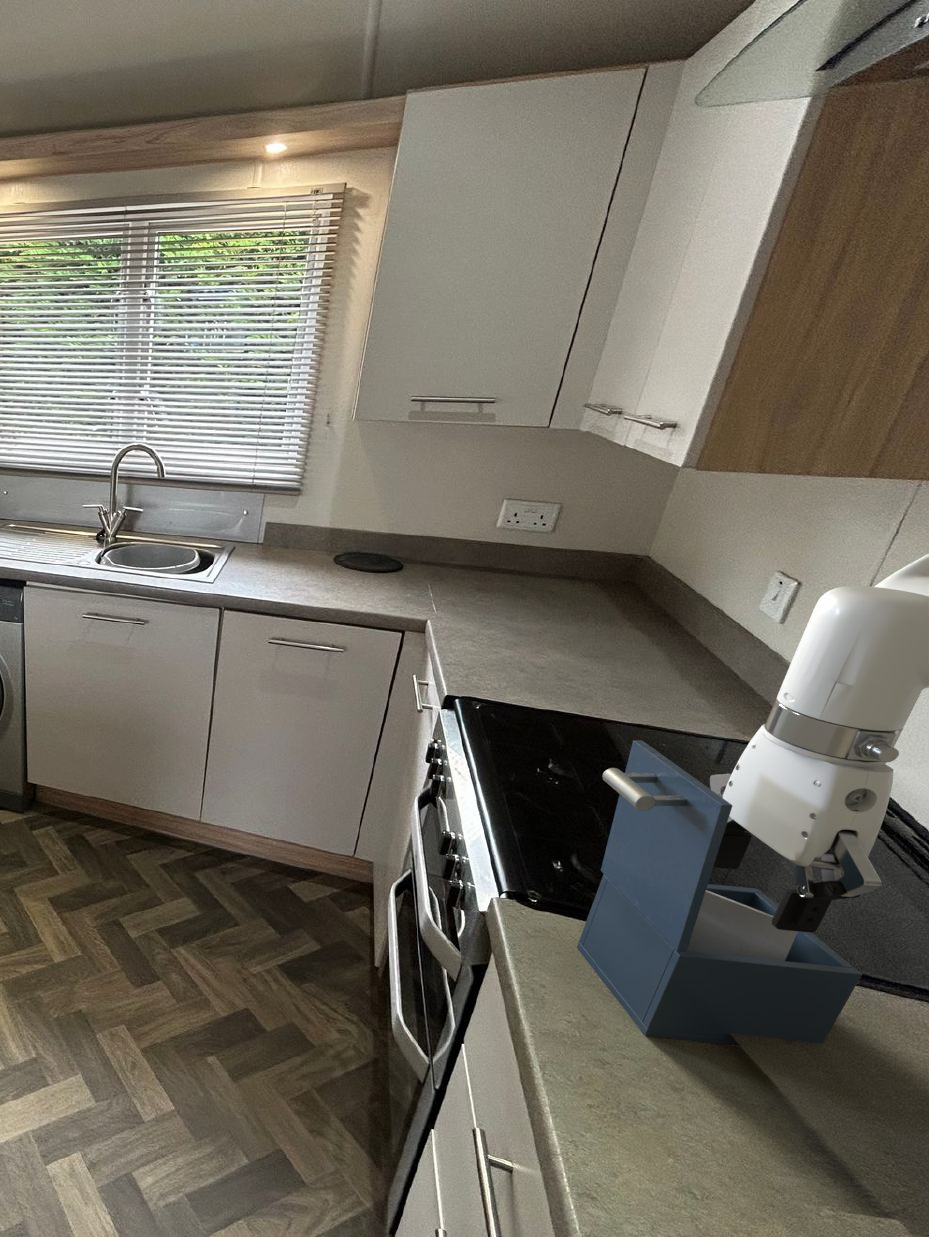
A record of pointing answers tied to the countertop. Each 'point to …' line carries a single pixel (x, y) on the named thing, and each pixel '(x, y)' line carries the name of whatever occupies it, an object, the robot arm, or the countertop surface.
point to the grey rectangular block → (738, 931)
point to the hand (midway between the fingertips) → (753, 894)
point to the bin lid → (663, 841)
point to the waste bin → (713, 978)
